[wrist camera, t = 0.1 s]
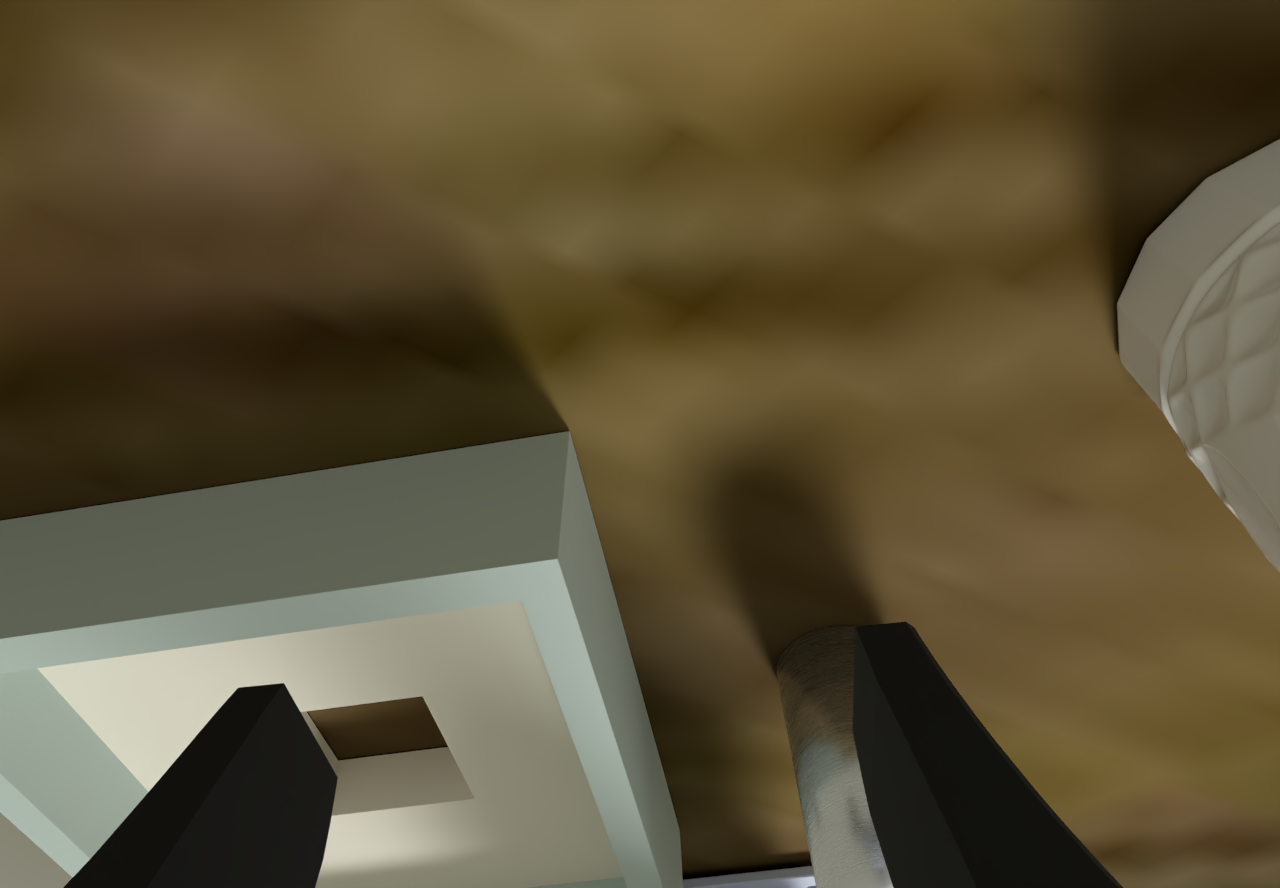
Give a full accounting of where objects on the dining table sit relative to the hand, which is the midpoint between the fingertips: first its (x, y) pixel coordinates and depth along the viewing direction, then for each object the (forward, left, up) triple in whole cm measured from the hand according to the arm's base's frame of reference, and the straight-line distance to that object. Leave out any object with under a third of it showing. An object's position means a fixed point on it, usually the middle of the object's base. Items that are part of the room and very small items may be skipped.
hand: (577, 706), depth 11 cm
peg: (-12, -5, -10) cm, 17 cm away
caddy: (-11, +9, -10) cm, 18 cm away
